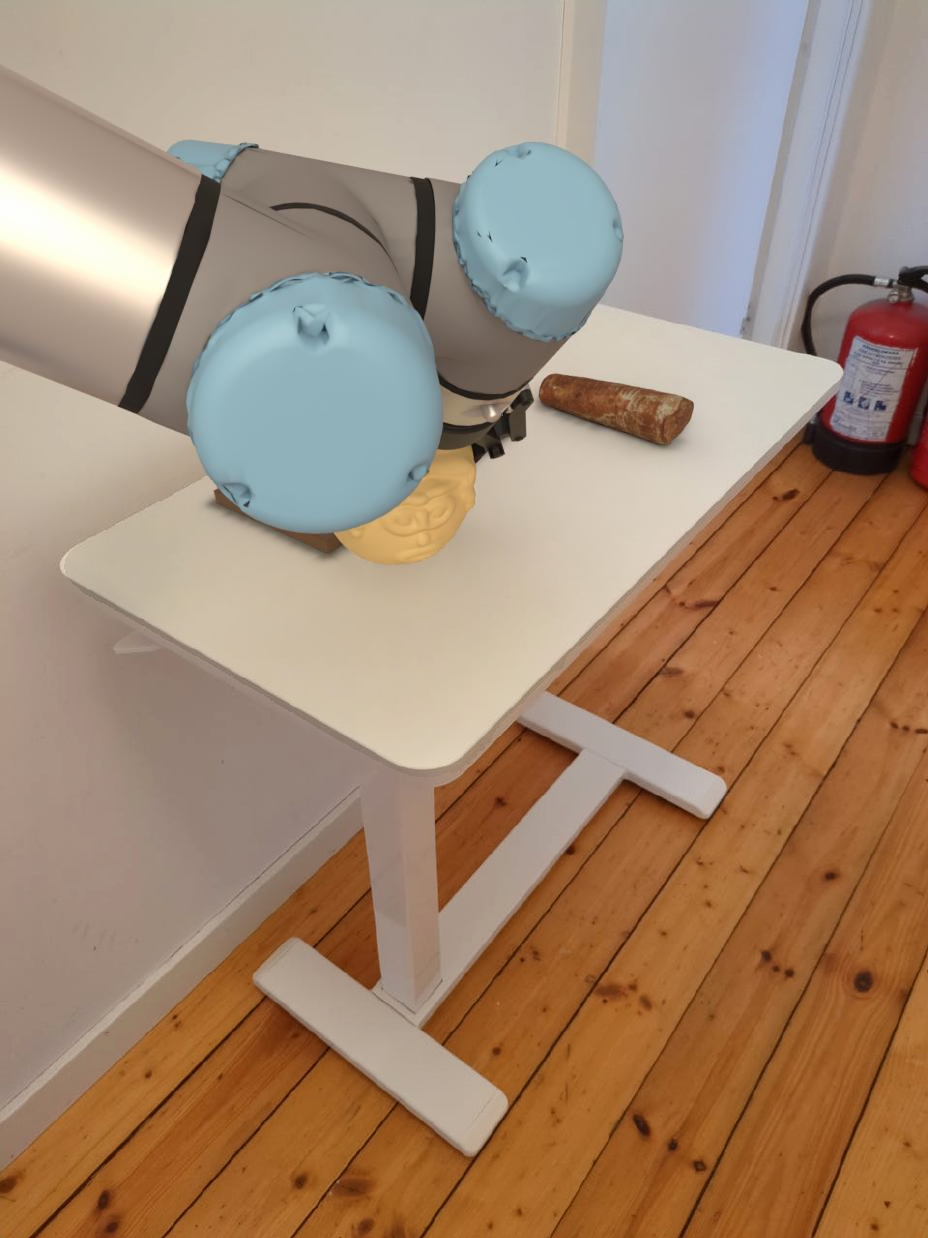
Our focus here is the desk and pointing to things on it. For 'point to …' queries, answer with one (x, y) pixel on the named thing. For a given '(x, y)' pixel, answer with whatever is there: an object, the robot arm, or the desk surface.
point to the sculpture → (420, 514)
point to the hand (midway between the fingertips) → (384, 480)
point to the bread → (619, 406)
